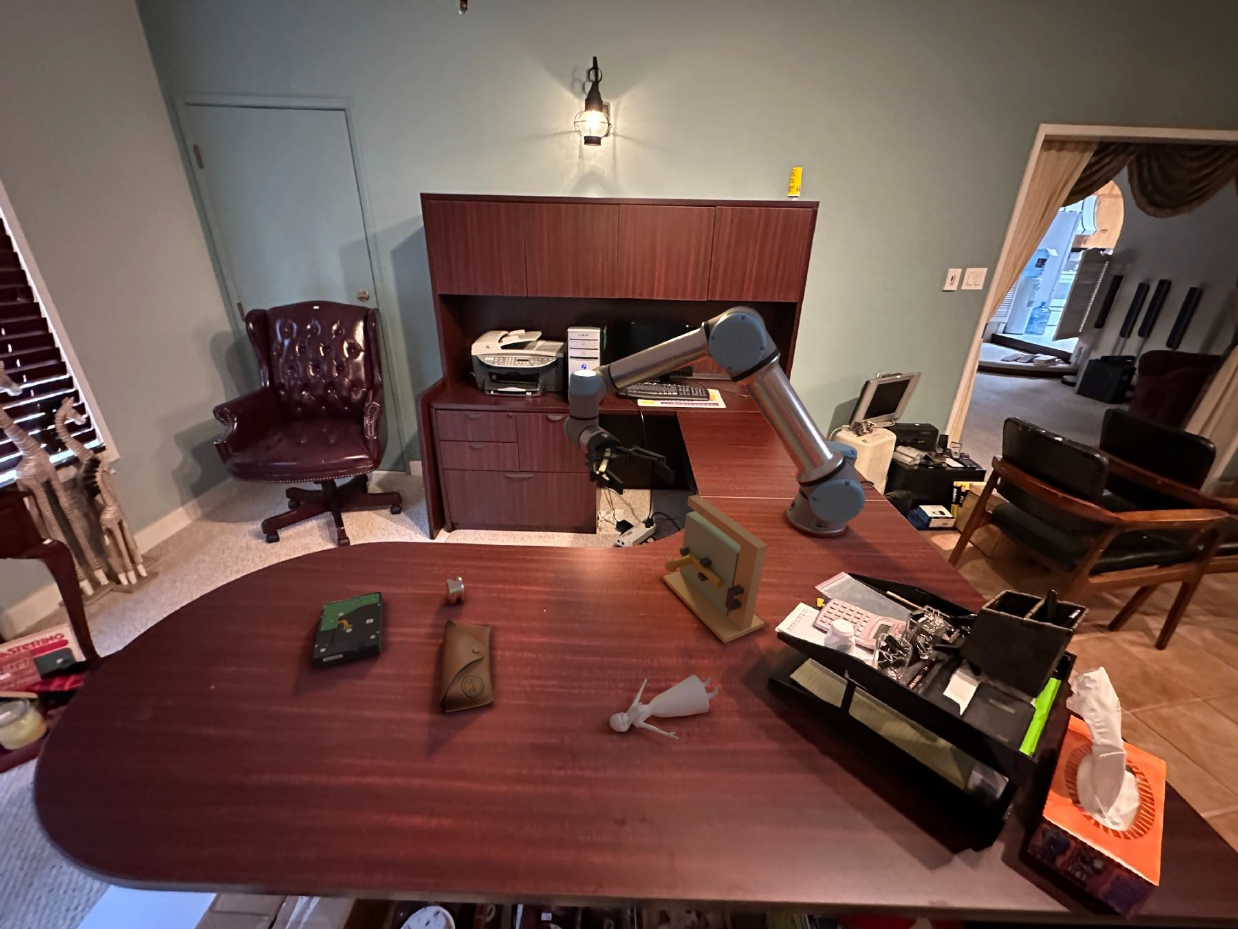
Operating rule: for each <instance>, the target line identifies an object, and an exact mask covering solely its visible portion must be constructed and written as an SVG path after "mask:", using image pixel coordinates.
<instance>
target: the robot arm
mask: <svg viewBox="0 0 1238 929" xmlns="http://www.w3.org/2000/svg"><path fill="white" fill-rule="evenodd" d="M780 356H781V351H780V350H779V349H778V347H777V345H776V344H775V342H774V341H773V339H772V337H771V336H770V334H769V332H768V331H767V329H766V324H765V320H764V318H763V317H762V315H761V314H760V313H759V312H758V311H757V310H755V309H753V308H751V307H749V306H735V307H732V308H730V309H727V310H726V311H724V312H723V313H721V314H719V315H717V316H715V317H713V318H710V319H709V320H706V321H704V322H702V324H701V325H700V327H699V328H698V329H695V330H692V331H689V332H686V333H685V334H682V335H680V336H677V337H674V338H672V339H670V340H667V341H663V342H662V343H659V344H657V345H654V346H652V347H648V348H647V349H644V350H641V351H639V352H636V353H634V354H630V355H628V356H626V357H623V358H620V359H618V360H615V361H614V362H611V363H609V364H608V363H607V364H606V365H600V366H597V367H595V368H593V369H592V370H587V369H581V370H575V371H573V372H571V373H570V375H569V382H568V404H569V405H568V406H569V409H568V410H569V413H568V416H567V418H566V419H565V421H564V423H563V427H562V430H563V433H564V435H565V436H566V437H567V439H568V441H570V442H571V443H572V444H573V445H575V446H576V448H579V449H580V450H581V451H582V452H583V453H584V465H585V466H586V467H587V471H588V478H589V482H591V483H595V482H596V481H598V485H599V486H603V485H605V486H607V487H610V488H611V489H612V490H613V491H614V492H615V493H616V494H618V495H619V496H623V495H624V487H625V486H624V485H625V484H624V483H625V482H624V481H622V480H621V479H620V478H619V477H618V476H616V475H615V474H614V473H613V472H612V471H611V470H610V467H611V466H612V467H615V466H617V465H624V466H629V467H631V466H632V465H633V466H636V467H641V468H644V469H649V470H653V472H654V473H655V474H656V475H657V476H658V477H660V478H662V479H663V480H664V481H666V482H667V483H668V484H669V485H672V484H673V485H674V482H675V471H673V469H671V468H670V467H669V466H668V465H666V462H667V456H664V455H661V454H659V453H656V452H652V451H650V450H647V449H644V448H641V447H639V446H638V445H636V444H633V445H632V446H631V447H632V448H629V449H628V448H626V447H623V446H622V444H621V442H620V441H619V439H618V438H616V437H615V436H614V435H613V434H611V433H610V432H609V431H607V430H606V429H605V428H603V427H601V426H600V425H599V418H600V417H599V416H600V402H601V401H602V400H603V399H605V398H606V396H609V395H611V394H614V393H616V392H619V391H621V390H624V389H627V388H630V387H632V386H635V385H638V384H641V383H643V382H646V381H648V380H652V379H654V378H657V377H660V376H664V375H665V374H668V373H671V372H673V371H677V370H680V369H682V368H685V367H687V366H690V365H694V364H696V363H700V362H701V361H704V360H708V359H711V360H714V362H715V363H716V364H717V365H718V366H719V367H720V368H721V369H723V370H724V371H725V372H726V374H727V375H728V377H729V379H730V380H731V381H732V383H733V384H736V385H740V386H741V385H742V386H743V387H744V388H745V390H746V392H747V393H748V395H749V396H750V397H751V399H752V401H753V402H754V404H755V405H756V407H757V409H758V410H759V412H760V413H761V415H762V416H763V418H764V419H765V421H766V422H767V424H768V426H769V427H770V429H771V430H772V432H773V433H774V435H775V436H776V438H777V440H778V441H779V443H780V444H781V445H782V448H783V449H784V450H785V452H786V454H787V455H788V457H789V459H790V460H791V461H792V463H793V464H794V466H795V467H796V472H795V475H794V478H795V479H796V481H797V483H798V484H799V488H798V492H797V494H796V495H795V497H794V498H793V500H792V501H791V503H790V505H789V506H788V508H787V510H786V514H785V519H786V521H787V523H788V524H789V525H790V526H791V527H792V528H794V529H795V530H797V531H798V532H801V533H803V534H806V535H809V536H814V537H818V538H835V537H836V538H837V537H839V536H842V535H843V534H844V533H845V532H846V528H847V524H848V522H849V521H850V520H853V519H854V518H856V517H857V516H859V515H860V513H861V512H862V511H863V509H864V507H865V505H866V491H865V490H866V489H865V488H864V487H863V485H862V484H871V485H872V486H875V483H874V481H872V480H860V478H859V476H858V473H857V471H856V469H855V468H856V467H855V466H856V463H857V460H858V450H857V448H855V447H853V445H852V446H851V445H849V444H846V443H842V442H838V441H832V440H826V439H825V436H824V435H823V433H822V432H821V430H820V429H819V427H818V425H817V423H816V422H815V421H814V419H813V418H812V416H811V414H810V412H809V411H808V409H807V408H806V406H805V405H804V403H803V401H802V400H801V398H800V397H799V395H798V393H797V392H796V390H795V389H794V387H793V385H792V384H791V382H790V381H789V379H788V378H787V376H786V373H785V372H784V371H783V369H782V367H781V366H780V364H779V360H780ZM596 464H597V465H598V466H600V467H599V469H598V471H597V469H596ZM867 482H868V483H867Z"/></svg>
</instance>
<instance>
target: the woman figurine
mask: <svg viewBox="0 0 1238 929" xmlns="http://www.w3.org/2000/svg"><path fill="white" fill-rule="evenodd" d="M711 682H712V678H711V676H708V677H707V679H706V681H704V682H702V680H701V679H700V678H699V677H698V675H697V674H696V675H695V674H694V673H693V674H691V675H690V676H688V677H686V678H684V679H682V680H681V681H680V682H678V683H676V684H675V685H673V686H671V687H670V688H668V689H666V690H664V691H663V692H661V693H659V694H657V695H655V697H653V698H652V699H651V700H650V701H649V702H648V704H642V703H643V702H639V701H640V699H641V696H642V693H643V690H644V688H645V686H646V685H647V683H648V679H647V677H645V679H644V680H643V683H642V685H641V686H640V688H639V691H638V692H637V694H636V696H635V698H634V700H633V702H632V704H631V705H630V706H629V708H628V710H627V711H626V712H618V713H617V712H616V713H614V714H612V716H610V718H609V725H610V727H611V728H612V729H613V730H614V731H615V732H621V733H622V732H626V731H628V730H629V728H630V727H631V725H633V726H635V728H637V729H638V728H642V729H645V730H650V731H651V732H654V733H656V734H661V735H663V736H666V737H668V738H671V739H672V740H679V737H678V736H676V735H675V734H676V732H674V731H673V732H672V731H671V732H666V731H664V730H661V729H659V728H658V727H656V726H654V725H652V724H649V723H646V722H645V721H646V720H647V719H648V718H649V717H651V716H655V717H658V718H672V717H684V716H692V715H699V714H704V713H708V712H709V710H710V708H711V707H710V700H711V699H713V698H714V697H716V696H718V695H719V688H718V686H715V688H714V689H713V690H712V691H711V692H709V693H708V692H707V689H706V687H707V686H709V685H711Z"/></svg>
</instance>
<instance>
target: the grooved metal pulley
mask: <svg viewBox="0 0 1238 929" xmlns="http://www.w3.org/2000/svg"><path fill="white" fill-rule="evenodd" d="M454 579H455V580H453V579H452V578H451V577H450V578H446V579H445V589H446V595H447V598H448V601H449V604H450V605H454V604H456V603H457V600H458V599H459V602H464V601H465V600H466V598H467V593H466V587H465V583H464V580H463V577H462V576H459V575H457V576H455V578H454Z"/></svg>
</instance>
